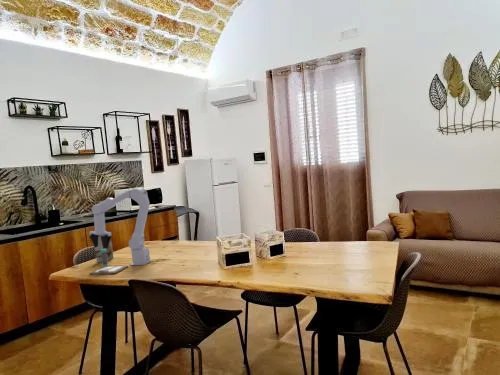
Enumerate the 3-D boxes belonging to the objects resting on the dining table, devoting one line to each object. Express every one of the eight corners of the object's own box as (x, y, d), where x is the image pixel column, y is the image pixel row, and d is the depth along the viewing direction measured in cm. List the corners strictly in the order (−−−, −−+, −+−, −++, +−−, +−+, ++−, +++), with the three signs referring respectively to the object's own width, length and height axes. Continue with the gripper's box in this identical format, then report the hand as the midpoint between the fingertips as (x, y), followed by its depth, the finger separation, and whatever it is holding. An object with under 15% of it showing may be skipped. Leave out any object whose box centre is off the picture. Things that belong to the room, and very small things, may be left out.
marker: (109, 265, 219) (107, 248, 218) (106, 267, 216) (103, 250, 215) (104, 265, 220) (102, 249, 219) (101, 267, 217) (99, 250, 216)
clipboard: (128, 267, 211) (127, 264, 210) (115, 274, 199) (115, 270, 199) (103, 267, 215) (103, 264, 214) (90, 274, 203) (89, 271, 203)
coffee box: (105, 261, 229) (102, 236, 227) (96, 262, 230) (93, 236, 229) (114, 257, 238) (110, 232, 236) (105, 258, 239) (101, 233, 238)
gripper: (84, 225, 215) (86, 248, 216) (104, 226, 210) (106, 249, 211) (94, 223, 222) (95, 245, 223) (113, 223, 216) (114, 246, 218)
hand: (101, 247), depth 217 cm, fingers open, 7 cm apart
